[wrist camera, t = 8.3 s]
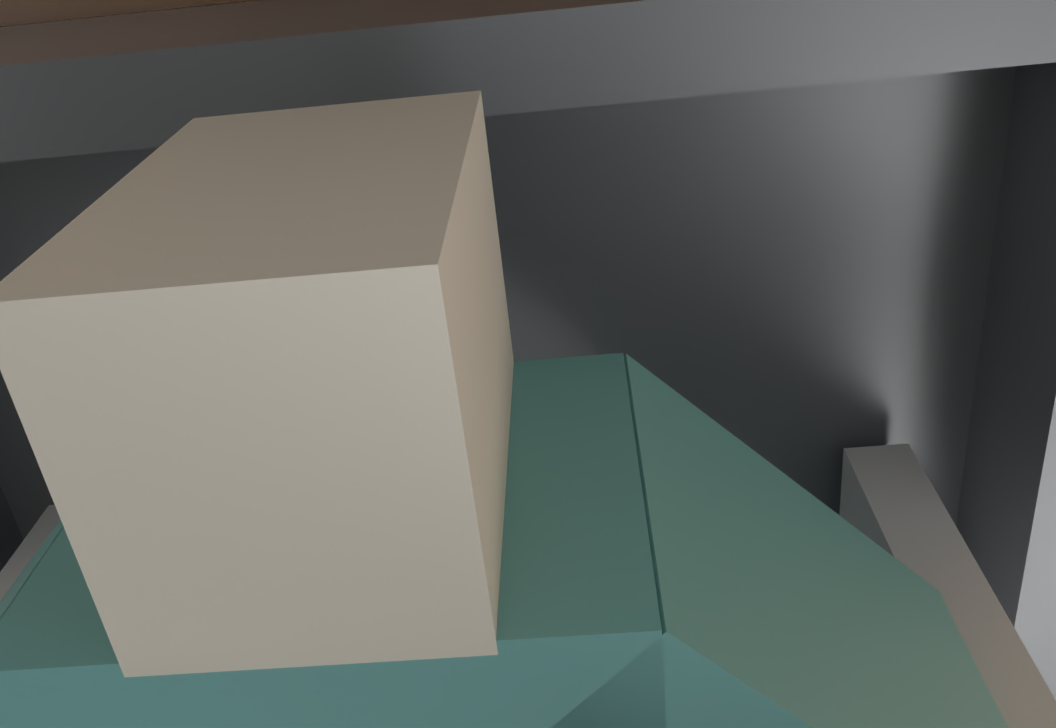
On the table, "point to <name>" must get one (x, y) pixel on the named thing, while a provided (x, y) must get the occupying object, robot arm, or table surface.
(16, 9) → the table surface
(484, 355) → the ring
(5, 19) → the table surface
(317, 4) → the tray
